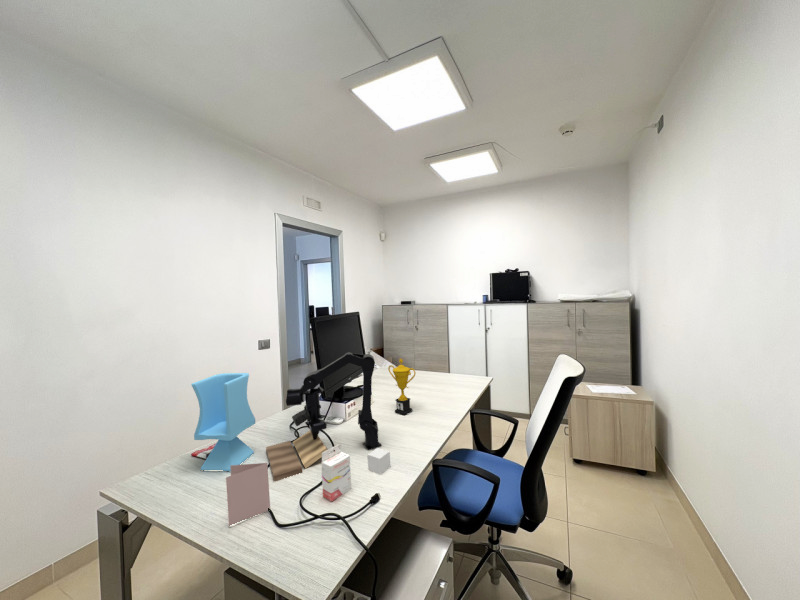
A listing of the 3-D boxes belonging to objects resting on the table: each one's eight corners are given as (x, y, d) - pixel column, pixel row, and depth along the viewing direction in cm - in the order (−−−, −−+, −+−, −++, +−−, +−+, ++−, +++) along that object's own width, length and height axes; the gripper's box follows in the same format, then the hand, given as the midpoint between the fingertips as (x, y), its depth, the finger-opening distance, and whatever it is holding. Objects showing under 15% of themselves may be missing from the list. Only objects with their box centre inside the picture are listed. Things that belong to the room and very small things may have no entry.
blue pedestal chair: (196, 472, 120) (190, 383, 119) (224, 451, 135) (219, 373, 135) (232, 473, 118) (227, 383, 117) (257, 452, 133) (252, 372, 133)
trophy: (384, 411, 172) (382, 358, 172) (396, 406, 180) (393, 355, 179) (412, 419, 160) (409, 362, 160) (422, 412, 168) (420, 358, 167)
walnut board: (302, 472, 116) (302, 467, 116) (274, 482, 111) (273, 476, 111) (290, 445, 139) (289, 440, 139) (266, 451, 134) (266, 447, 134)
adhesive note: (368, 470, 116) (367, 454, 115) (378, 462, 120) (377, 447, 120) (380, 474, 112) (379, 458, 112) (390, 466, 117) (389, 451, 117)
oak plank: (328, 451, 123) (326, 447, 123) (305, 468, 118) (303, 464, 118) (314, 431, 142) (313, 428, 142) (294, 445, 138) (292, 441, 137)
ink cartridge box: (332, 502, 98) (329, 457, 98) (322, 496, 101) (320, 452, 101) (352, 488, 105) (349, 446, 105) (342, 483, 108) (340, 442, 108)
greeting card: (271, 508, 97) (268, 461, 97) (261, 525, 90) (258, 475, 90) (234, 510, 97) (231, 463, 97) (222, 528, 89) (218, 478, 89)
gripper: (289, 401, 135) (291, 436, 135) (297, 414, 119) (299, 454, 119) (314, 396, 140) (316, 429, 141) (325, 408, 124) (328, 446, 125)
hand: (314, 439), depth 131 cm, fingers closed
